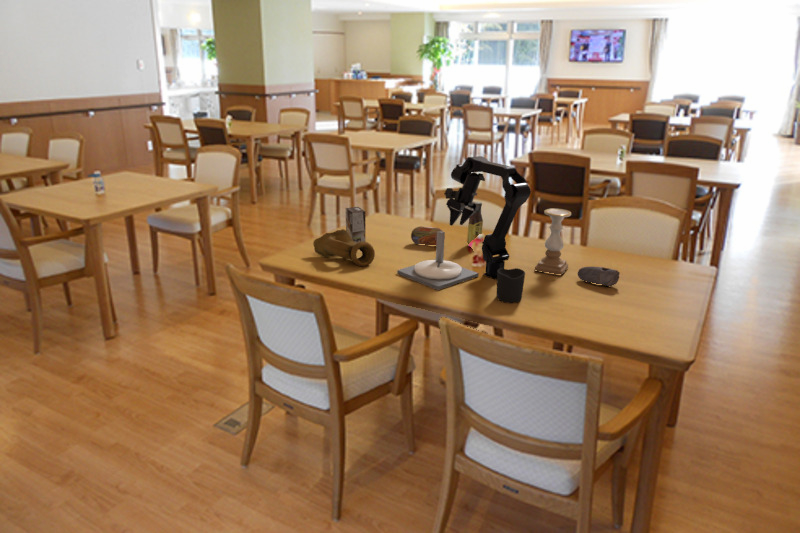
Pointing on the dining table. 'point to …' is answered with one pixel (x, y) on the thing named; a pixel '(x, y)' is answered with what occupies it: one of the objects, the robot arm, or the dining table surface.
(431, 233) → the tin
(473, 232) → the sauce bottle
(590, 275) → the perforated stone tool
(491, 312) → the dining table surface
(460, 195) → the robot arm
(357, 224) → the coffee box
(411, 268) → the dial board
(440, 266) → the dial
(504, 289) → the pen holder
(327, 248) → the brown looped sculpture
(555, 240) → the candle holder
